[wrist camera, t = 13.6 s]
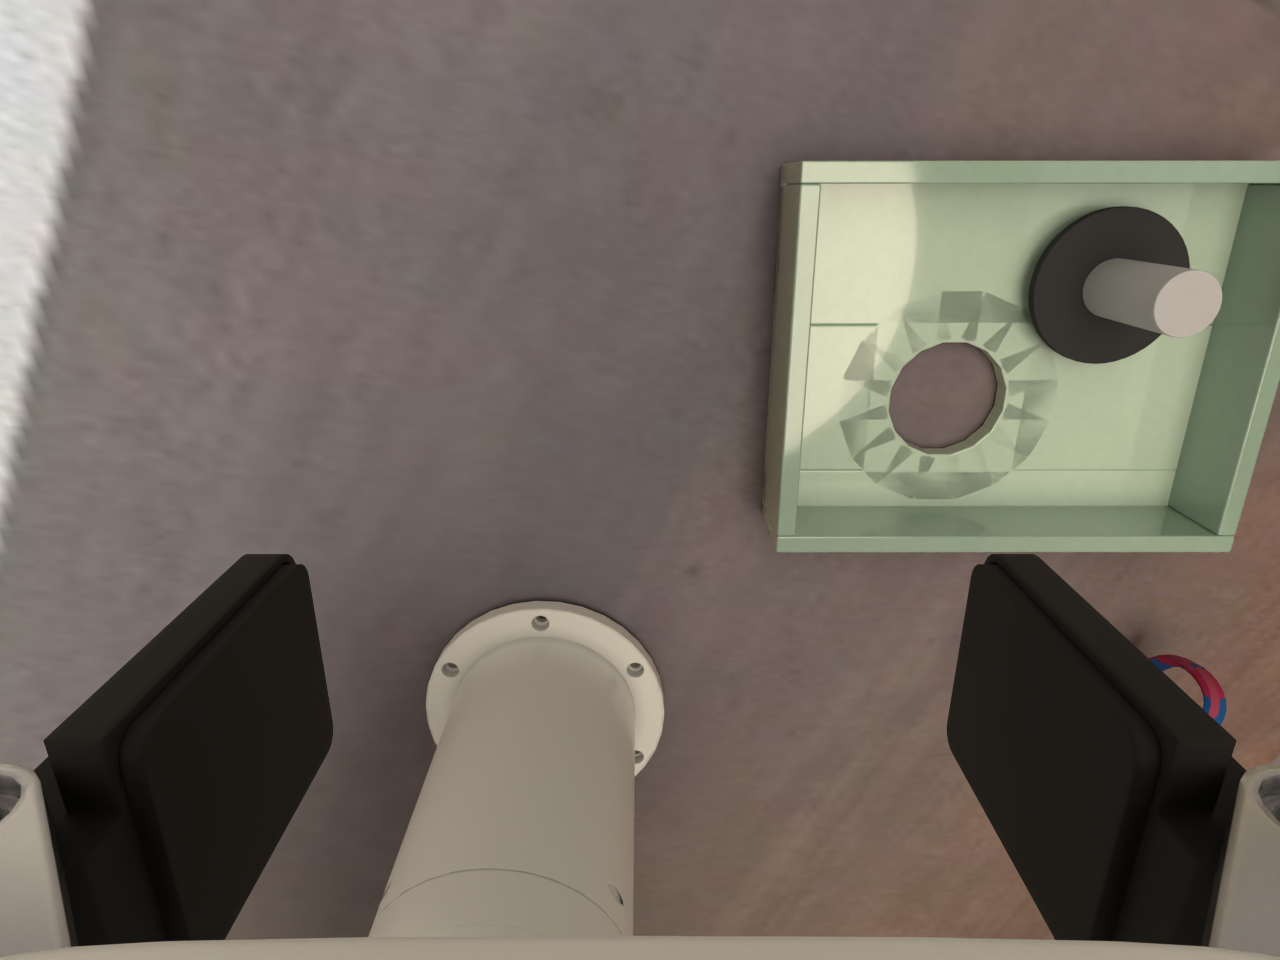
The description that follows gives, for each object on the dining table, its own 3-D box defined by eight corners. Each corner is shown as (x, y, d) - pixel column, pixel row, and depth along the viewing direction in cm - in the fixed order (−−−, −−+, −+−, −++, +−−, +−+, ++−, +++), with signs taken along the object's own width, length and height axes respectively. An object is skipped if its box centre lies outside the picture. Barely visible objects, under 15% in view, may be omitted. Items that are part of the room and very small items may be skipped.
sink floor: (1167, 513, 39) (1180, 521, 38) (761, 513, 39) (764, 521, 38) (1254, 163, 33) (1272, 163, 32) (781, 163, 33) (785, 163, 32)
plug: (1150, 357, 35) (1253, 392, 29) (1007, 357, 35) (1081, 391, 29) (1185, 206, 33) (1304, 210, 27) (1032, 205, 33) (1118, 209, 27)
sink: (1167, 513, 39) (1231, 552, 35) (761, 513, 39) (776, 553, 35) (1254, 163, 33) (1343, 160, 29) (781, 163, 33) (802, 160, 29)
